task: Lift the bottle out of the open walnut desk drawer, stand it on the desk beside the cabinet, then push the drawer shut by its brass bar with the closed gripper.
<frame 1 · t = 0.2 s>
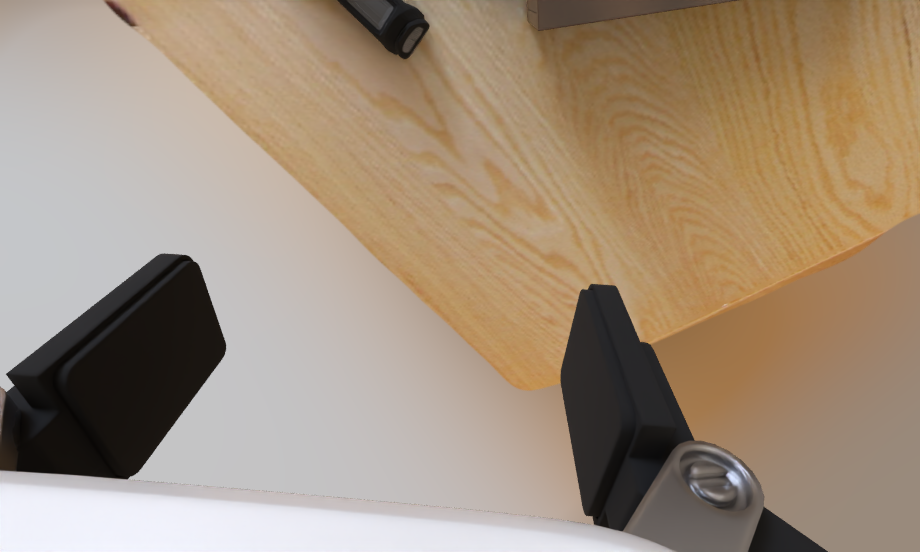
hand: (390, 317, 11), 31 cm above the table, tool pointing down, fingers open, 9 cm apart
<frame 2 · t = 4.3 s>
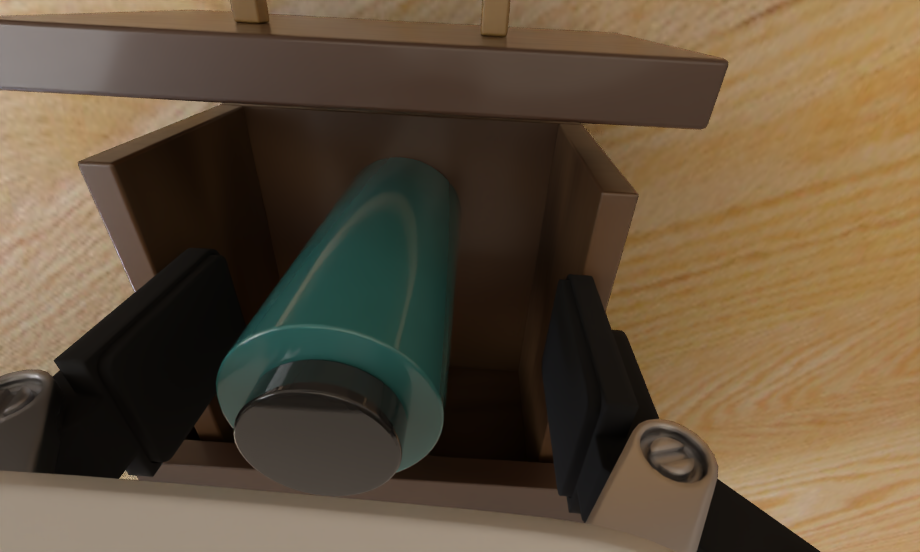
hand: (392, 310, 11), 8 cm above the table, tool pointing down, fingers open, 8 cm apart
bottle: (403, 214, 16), point 2 cm above the table, touching drawer
drawer: (389, 218, 13), point 5 cm above the table, slide at 10.3 cm, touching gripper, bottle
cabinet: (414, 407, 25), on the table
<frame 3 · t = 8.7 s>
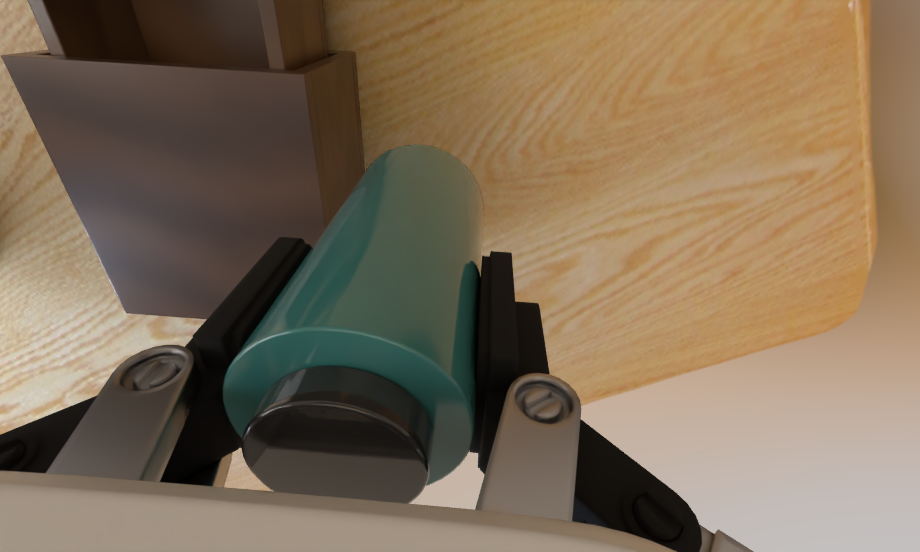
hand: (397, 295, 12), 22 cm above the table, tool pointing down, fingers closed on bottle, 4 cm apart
bottle: (420, 206, 15), point 17 cm above the table, touching gripper
cabinet: (268, 162, 33), on the table
when the fingers open (5 cm above the table, at t = 12.7 s): bottle stays where it is, on the table.
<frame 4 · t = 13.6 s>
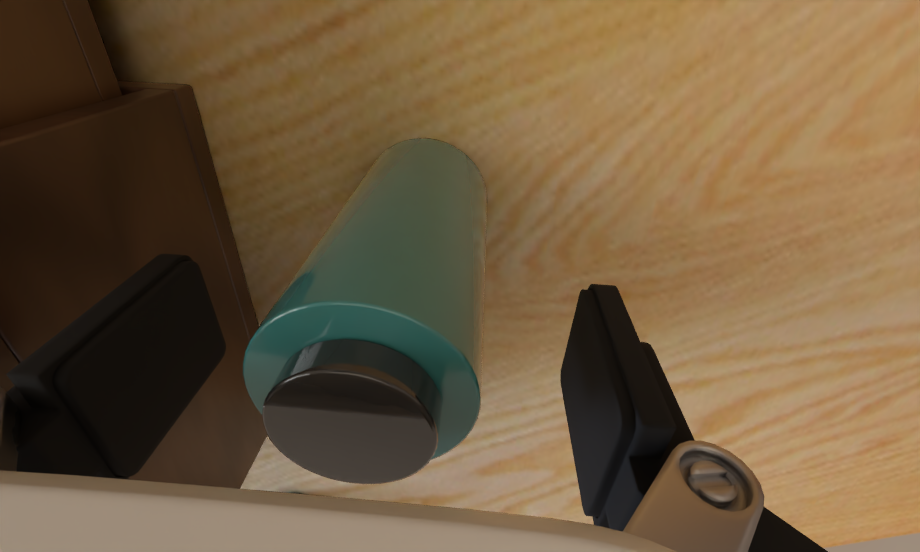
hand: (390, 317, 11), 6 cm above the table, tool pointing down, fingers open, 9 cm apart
bottle: (426, 199, 16), on the table
cabinet: (78, 272, 18), on the table
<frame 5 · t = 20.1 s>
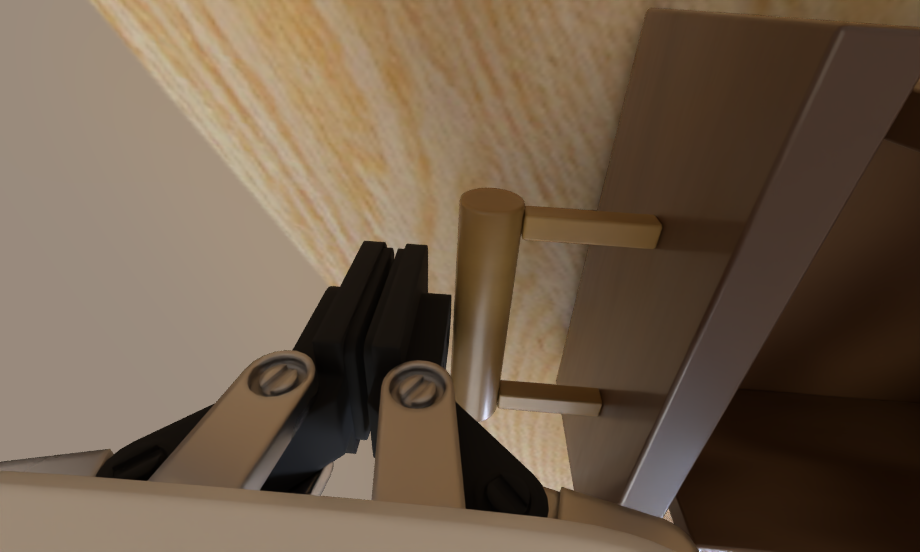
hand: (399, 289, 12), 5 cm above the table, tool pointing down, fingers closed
drawer: (808, 321, 11), point 5 cm above the table, slide at 10.4 cm, touching gripper
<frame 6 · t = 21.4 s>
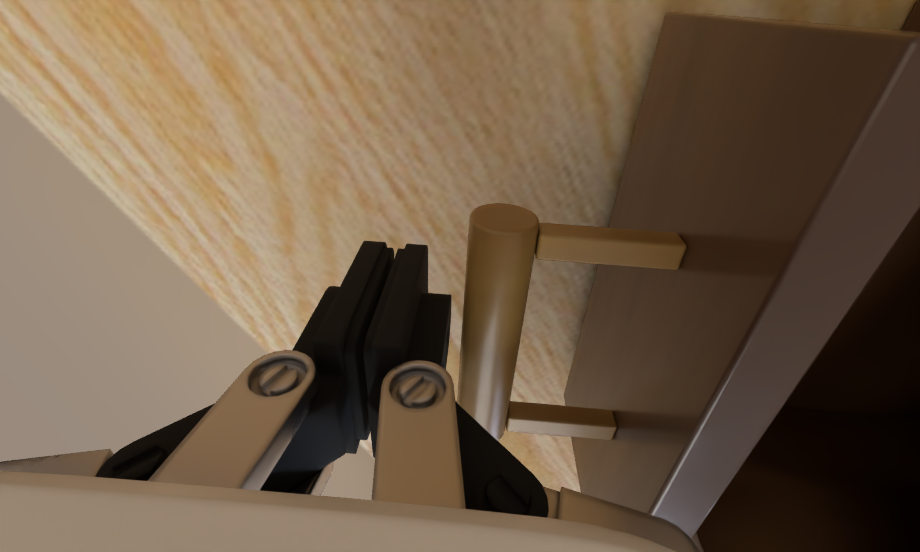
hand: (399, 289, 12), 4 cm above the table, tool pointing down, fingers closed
drawer: (834, 342, 11), point 5 cm above the table, slide at 5.2 cm, touching gripper
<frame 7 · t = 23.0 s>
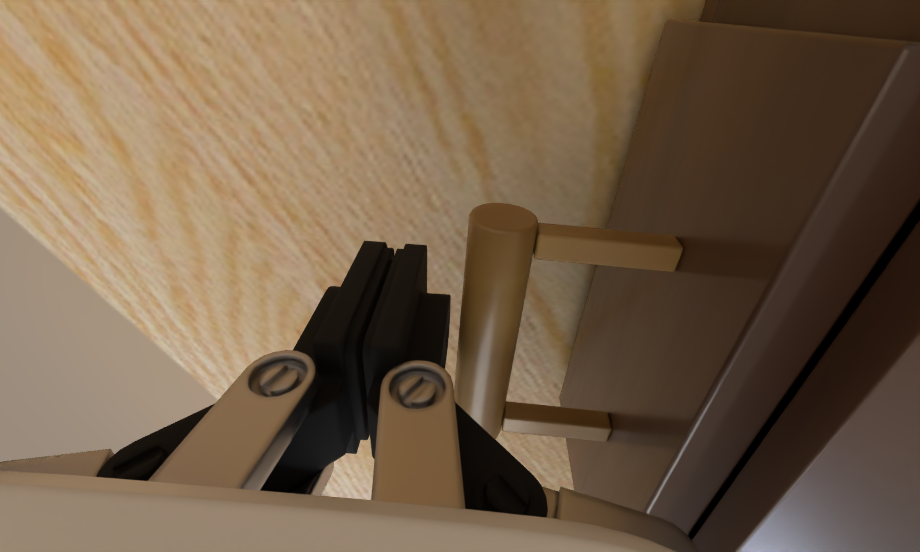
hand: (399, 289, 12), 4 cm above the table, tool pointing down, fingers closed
drawer: (828, 347, 11), point 5 cm above the table, slide at 0.0 cm, touching cabinet, gripper
cabinet: (856, 267, 15), on the table
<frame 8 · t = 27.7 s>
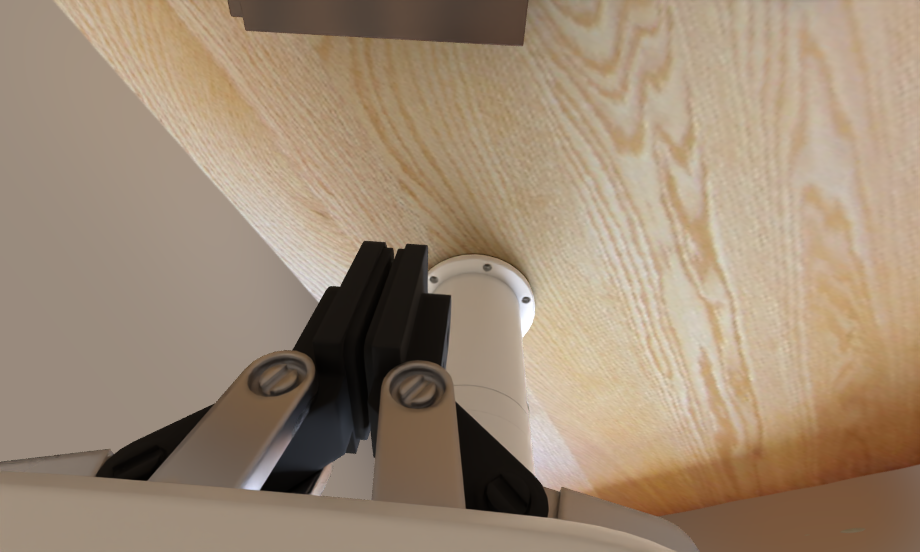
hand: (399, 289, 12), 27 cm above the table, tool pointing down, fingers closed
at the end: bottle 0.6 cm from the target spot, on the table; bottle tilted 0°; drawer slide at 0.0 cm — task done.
